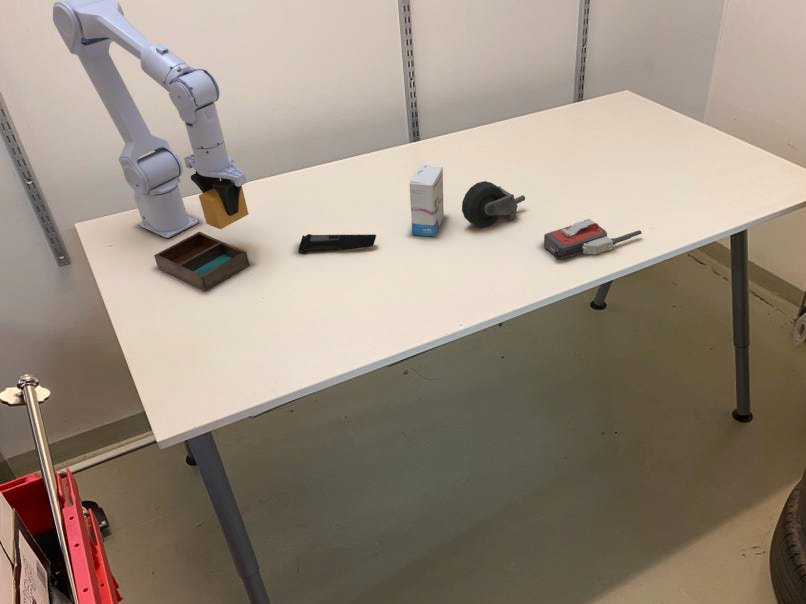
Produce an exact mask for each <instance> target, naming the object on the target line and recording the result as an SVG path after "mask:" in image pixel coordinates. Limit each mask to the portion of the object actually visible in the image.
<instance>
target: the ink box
mask: <svg viewBox="0 0 806 604" xmlns="http://www.w3.org/2000/svg"><path fill="white" fill-rule="evenodd" d="M409 181H410V182H409V199H410V215H411V216H410V218H411V234H412V235H414V236H424V237H433V238H434V237H435V236H436V234H437V232H438V230H439V228H440V226H441V224H442V222H443V220H444V218H445V211H444V210H445V209H444V168H443V167H442V166H435V165H428V164H419V165H418V167H417V169H416V170H415V171H414V174H413V175H412V176H411V178H409Z"/></svg>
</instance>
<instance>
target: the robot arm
mask: <svg viewBox="0 0 806 604" xmlns="http://www.w3.org/2000/svg"><path fill="white" fill-rule="evenodd" d="M52 22H53V24H54V27H55V28H56V30H57V32H58V34H59V35H60V37H61V39H62V41H63V42H64V44H65V46H66V48H67V49H68V51H69V53H70V54H72V55H76V56H77V58H78V60H79V61H80V63H81V65H82V67H83V69H84V70H85V73H86V74H87V76H88V79H89V80H90V82H91V84H92V85H93V88H94V89H95V91H96V93H97V94H98V96H99V98H100V100H101V102H102V104H103V105H104V107H105V109H106V111H107V113H108V115H109V116H110V118H111V120H112V122H113V124H114V126H115V128H116V129H117V131H118V133H119V135H120V137H121V138H122V140H123V142H124V146H123V148H122V150H121V153H120V155H119V158H118V161H119V165H120V167H121V168H122V172H123V176H124V179H125V181H126V183H127V184H128V186H129V187H130V188H131V189H132V190H133V198H134V201H135V204H136V206H137V207H136V208H137V210H138V212H139V216H140V217H141V218H140V219H141V222H139V226H140V227H141V228H144V229H146V230H148V231H150V232H152V233H154V234H157V235H159V236H161V237H163V238H166V239H169V238H171V237H174V236H175V235H177V234H179V233H181V232H183V231H185V230H187V229H189V228H191V227H192V226H195V225H197V224H198V223H199V220H197V219H196V218H193V217H191V216H188V212H187V210H186V207H185V203H184V200H183V197H182V194H181V190H180V186H179V183H181V179H180V177H181V176H182V175H183V171H184V169H183V163H182V160H181V158H180V157H179V156H178V154H177V153H176V152H175V151H174V150H173V148H172V147H171V145H170V143H169V142H168V140H166V139H164V138H161V137H158V136H156V135H153V134H152V133H151V131H150V129H149V127H148V126H147V124H146V121H145V120H144V118H143V115H142V114H141V112H140V110H139V108H138V106H137V104H136V103H135V100H134V99H133V97H132V94H131V93H130V91H129V89H128V87H127V86H126V83H125V81H124V79H123V78H122V76H121V74H120V72H119V69H118V68H117V66H116V64H115V63H114V60H113V59H112V57H111V54H110V46H111V44H112V43H113V42H114V43H115V44H117V45H118V46H120V47H121V48H122V49H124V50H125V51H127V52H128V53H129V54H131V55H132V56H134V57H135V58H136V59H138V60H140V61H139V63H140V68H141V70H142V71H143V72H144V73H145V74H146V75H147V76H149V77H150V78H151V79H152V80H153V81H155V82H156V83H157V84H158V85H159V86H160V87H162V88H163V89H164V90H166V91H167V92H168V96H169V99H170V101H171V103H172V104H173V106H175V109H176V110H177V112H178V115H179V118H180V119H181V121H182V122H184V125H185V128H186V132H187V135H188V136H187V137H188V140H189V143H190V146H191V150H192V154H189V155H187V156H185V157H183V160H184V164H185V167H186V168H187V169H193V170H194V171H195V173H193V174H191V175H190V180H191V181H192V182H193V183H194V184H195V185H196V186H197V187H198V188H199V190H200V191H201V193H204V192H207V191H209V190H211V189H213V188H214V189H215V190H216V191H217V193H218V194H219V196H220V198H221V200H222V202H223V205H224V208H225V210H226V212H227V214H228V215H229V216H232V215H234V214H236V213H238V211H239V194H240V190H241V186H242V187H243V186H244V185H246V184H247V183H248V181H247V177H246V173H245V172H243V171H241V170H240V169H239V168H238V167H236V166H235V165H234V163H235V159H234V158H233V157H231V156H229V155H228V150H227V147H226V143H225V137H224V134H223V130H222V128H221V123H220V118H219V115H218V109H217V106H216V102H218V101H219V99H220V88H219V84H218V82H217V80H216V79H215V77H214V76H213V75H212V74H211V73H210V72H209V70H208V69H206V68H204V67H196V66H195V65H193V66H191V65H189V64H188V63H187V62H186V61H184V60H183V59H181V58H180V57H179V56H178V55H177V54H175V53H174V52H173V51H172V50H170V49H169V48H168V46H166V45H165V44H162V43H154V44H153V43H152V42H151V41H150V40H149V39H148V38H147V37H146V36H145V35H144V34H143V33H142V32H141V31H140V30H139V29H138V28H137V27H135V25H133V24H132V22H130V21H129V20H128V19H127V18H126V17H125V13H124V10H123V8H122V6H121V4H120V2H119V0H57V1H56V2H54V4H53V6H52ZM148 153H149V154H148ZM146 154H147V155H146Z"/></svg>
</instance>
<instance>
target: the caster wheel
mask: <svg viewBox="0 0 806 604" xmlns="http://www.w3.org/2000/svg"><path fill="white" fill-rule="evenodd" d="M524 201H526V196H525V195H523V194H522V195H519V196H518V197H515V195H514V194H513V193H510V192H509V191H507V190H505V189H504V188H502V186H497V185H496V184H494V183H493V182H491V181H487V180H483V181H479V182H477V183H475V184H473V185H472V186H470V188H469V189H468V190H467V192H466V193H465V194H464V197H463V199H462V201H461V202H462V203H461V212H462V215H463V218H464V219H465V220H466V221H468V223H470V224H471V225H473V226H474V227H478V228H487V227H489V226H491V225H492V224H494V223H496V221H498V219H499V218H500V216H503V217H504V218H506V219H507V220H509V221H511V220H513V219H515V215H516V212H517V210H518V207H519V206H518V204H520V203H522V202H524Z"/></svg>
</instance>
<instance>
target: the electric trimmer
mask: <svg viewBox="0 0 806 604" xmlns="http://www.w3.org/2000/svg"><path fill="white" fill-rule="evenodd" d="M376 238H377V234H374V233H373V234H310V233H307V234H306V235H302V237H301V239H300V243H299V246H298V250H297V251H298V252H301V253H305V251H307V250H308V251H309V250H330V249H332V250H335V249H339V250H341V251H349V250H357V249H365V248H373V246H374V245H375V242H376Z"/></svg>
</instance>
